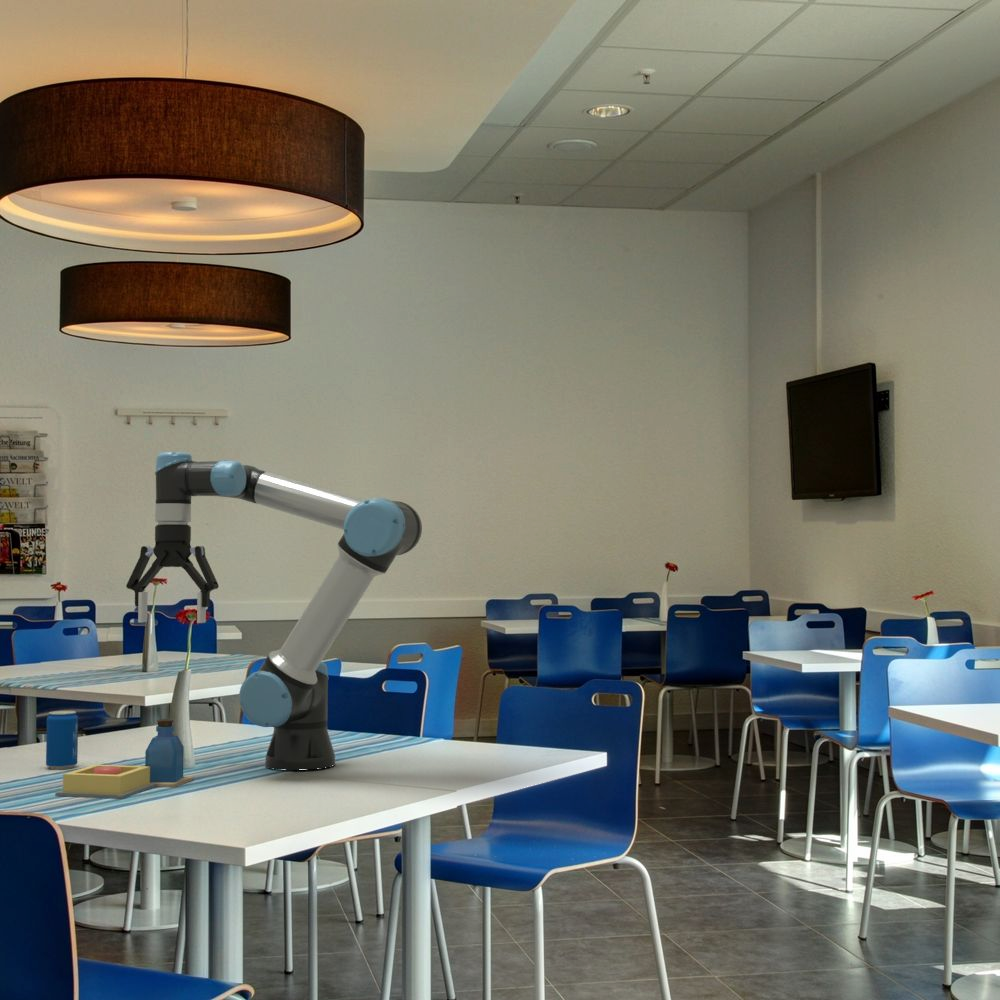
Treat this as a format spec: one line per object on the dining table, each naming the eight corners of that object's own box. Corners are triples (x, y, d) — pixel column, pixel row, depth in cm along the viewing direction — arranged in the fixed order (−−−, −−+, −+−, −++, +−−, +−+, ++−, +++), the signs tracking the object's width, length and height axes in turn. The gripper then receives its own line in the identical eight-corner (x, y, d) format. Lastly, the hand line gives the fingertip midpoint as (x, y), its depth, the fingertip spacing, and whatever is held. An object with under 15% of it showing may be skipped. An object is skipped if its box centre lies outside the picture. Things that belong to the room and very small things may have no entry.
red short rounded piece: (125, 781, 257) (125, 766, 257) (112, 786, 252) (112, 770, 252) (102, 780, 258) (102, 765, 258) (88, 785, 253) (89, 769, 253)
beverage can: (67, 770, 280) (68, 714, 280) (40, 769, 281) (41, 713, 281) (82, 765, 286) (83, 710, 286) (56, 764, 287) (56, 710, 288)
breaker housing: (156, 786, 260) (156, 765, 260) (122, 798, 247) (122, 777, 247) (92, 783, 263) (93, 763, 263) (55, 795, 250) (55, 774, 250)
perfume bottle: (175, 782, 261) (176, 722, 262) (145, 782, 261) (145, 722, 262) (183, 777, 267) (183, 718, 268) (153, 777, 267) (153, 718, 268)
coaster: (193, 779, 268) (193, 776, 268) (174, 787, 259) (174, 784, 259) (153, 778, 270) (153, 775, 270) (132, 785, 261) (132, 782, 261)
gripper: (234, 524, 282) (233, 622, 282) (128, 524, 287) (126, 621, 286) (220, 523, 275) (219, 623, 274) (111, 523, 280) (110, 622, 279)
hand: (171, 622), depth 280 cm, fingers open, 13 cm apart
